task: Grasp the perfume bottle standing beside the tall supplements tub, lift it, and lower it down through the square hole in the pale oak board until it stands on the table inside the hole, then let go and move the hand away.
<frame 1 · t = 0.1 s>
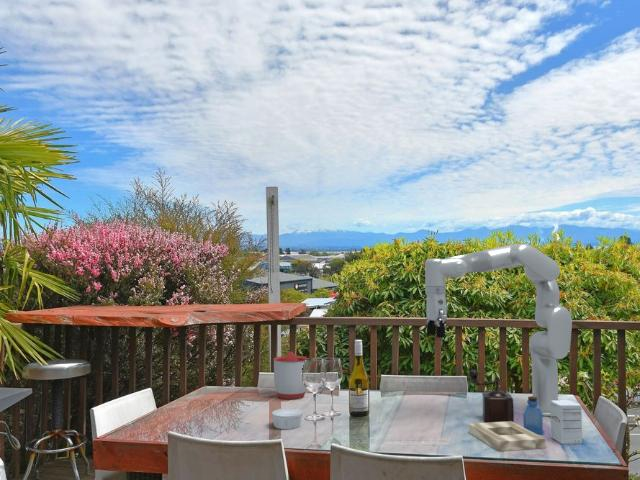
hand: (436, 335, 233), 31 cm above the table, tool pointing down, fingers open, 9 cm apart
hole board: (505, 439, 204), on the table
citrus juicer: (293, 397, 272), on the table
coffee grinder: (490, 420, 230), on the table
supplement box: (566, 441, 203), on the table
perfume bottle: (533, 432, 214), on the table
ramekin: (287, 427, 223), on the table
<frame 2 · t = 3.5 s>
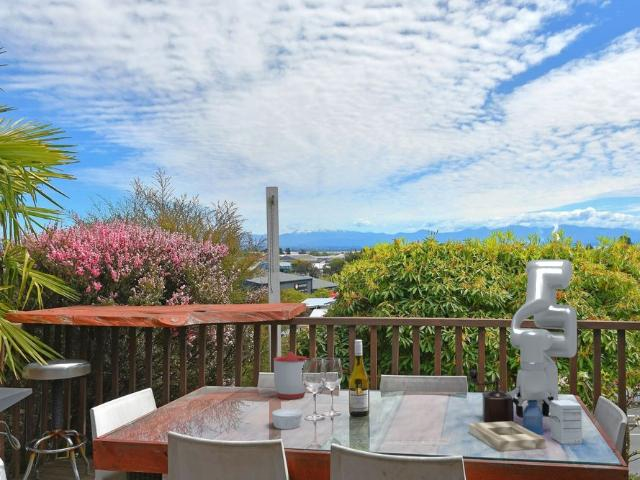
hand: (532, 416, 213), 5 cm above the table, tool pointing down, fingers open, 9 cm apart
nothing on the table moved.
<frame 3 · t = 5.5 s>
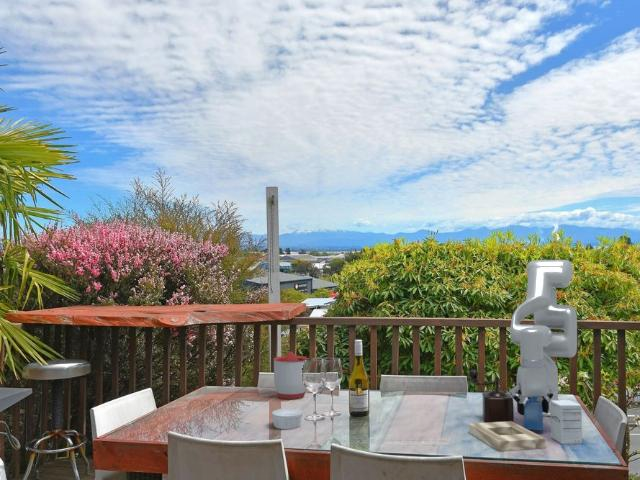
hand: (533, 413, 214), 6 cm above the table, tool pointing down, fingers closed on perfume bottle, 8 cm apart
perfume bottle: (533, 427, 214), point 1 cm above the table, touching gripper
everything else where it was.
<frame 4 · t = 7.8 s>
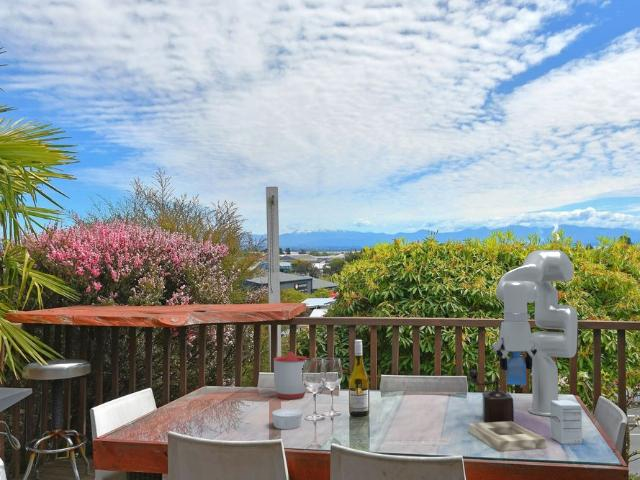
hand: (516, 369, 209), 23 cm above the table, tool pointing down, fingers closed on perfume bottle, 8 cm apart
perfume bottle: (516, 383, 208), point 18 cm above the table, touching gripper
everything else where it was.
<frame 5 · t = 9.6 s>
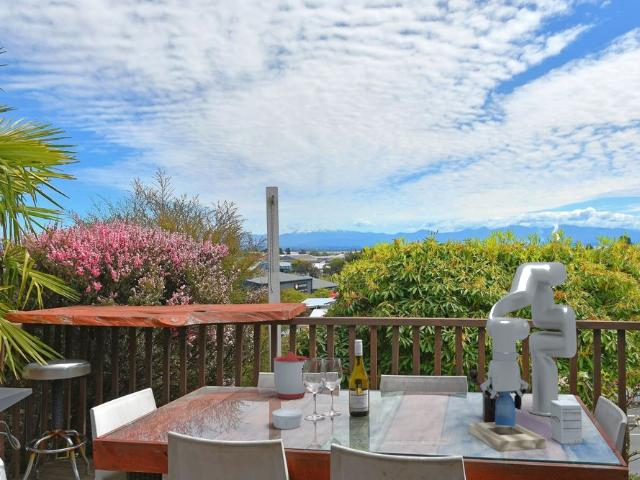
hand: (505, 409, 204), 10 cm above the table, tool pointing down, fingers closed on perfume bottle, 8 cm apart
perfume bottle: (505, 424, 204), point 5 cm above the table, touching gripper
everything else where it was.
when the fingers open (6 cm above the table, at t = 11.2 s): perfume bottle drops 1 cm, on the table.
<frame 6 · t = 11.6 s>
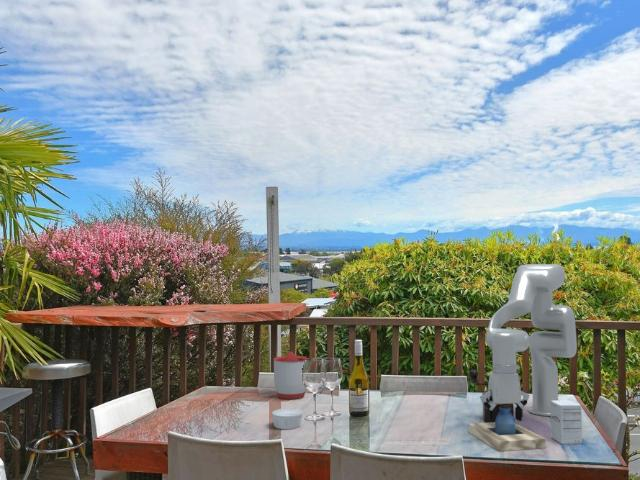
hand: (505, 420, 204), 6 cm above the table, tool pointing down, fingers open, 9 cm apart
perfume bottle: (505, 440, 204), on the table
everything else where it was.
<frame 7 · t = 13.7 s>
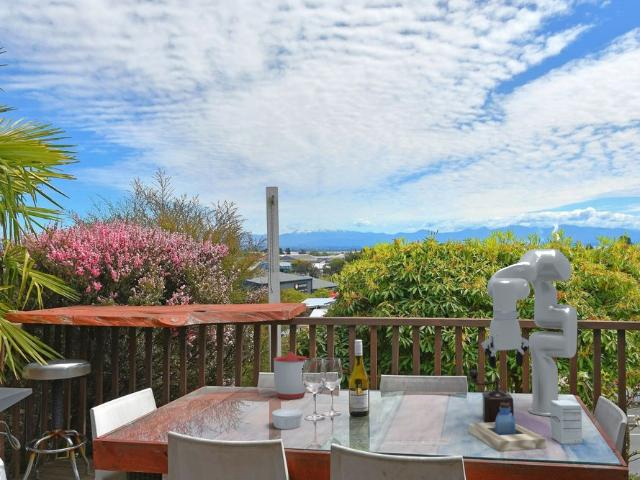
hand: (506, 366, 208), 24 cm above the table, tool pointing down, fingers open, 9 cm apart
nothing on the table moved.
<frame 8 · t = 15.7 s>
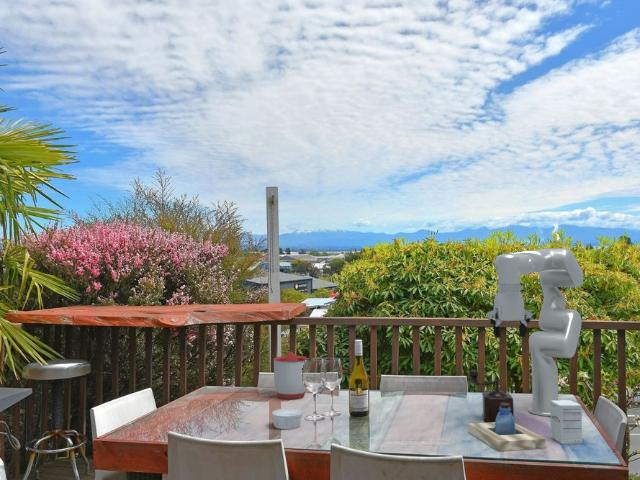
hand: (509, 337, 220), 32 cm above the table, tool pointing down, fingers open, 9 cm apart
nothing on the table moved.
at the end: perfume bottle 0.1 cm off-centre on the hole board, point 0.0 cm above the hole board's base; perfume bottle tilted 0°; the gripper is holding nothing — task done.
